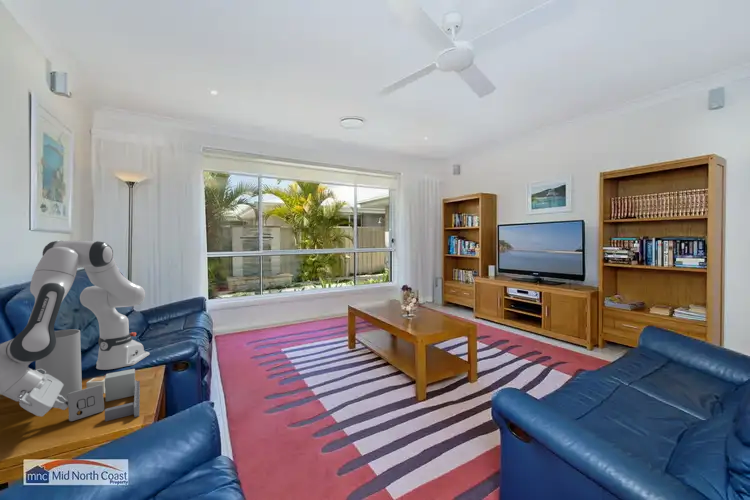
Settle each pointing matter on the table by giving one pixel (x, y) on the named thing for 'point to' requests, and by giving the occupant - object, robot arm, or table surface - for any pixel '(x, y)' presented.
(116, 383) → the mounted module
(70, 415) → the electrical switch
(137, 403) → the rail
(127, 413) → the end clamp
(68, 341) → the cylinder vase
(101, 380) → the block
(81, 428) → the table surface
